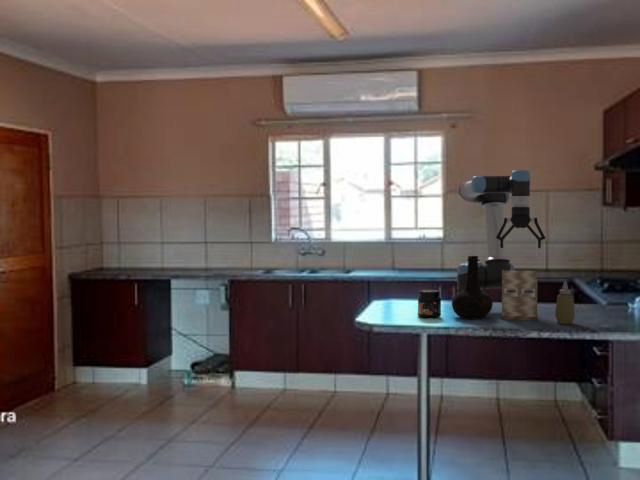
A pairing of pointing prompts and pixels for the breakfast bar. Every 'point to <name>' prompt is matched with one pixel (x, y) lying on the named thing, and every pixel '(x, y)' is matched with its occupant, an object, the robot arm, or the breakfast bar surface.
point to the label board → (519, 295)
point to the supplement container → (429, 304)
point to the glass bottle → (472, 295)
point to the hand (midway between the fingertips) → (520, 256)
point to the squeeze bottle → (565, 306)
